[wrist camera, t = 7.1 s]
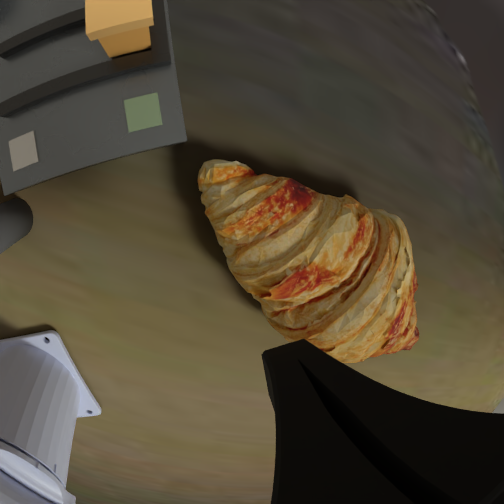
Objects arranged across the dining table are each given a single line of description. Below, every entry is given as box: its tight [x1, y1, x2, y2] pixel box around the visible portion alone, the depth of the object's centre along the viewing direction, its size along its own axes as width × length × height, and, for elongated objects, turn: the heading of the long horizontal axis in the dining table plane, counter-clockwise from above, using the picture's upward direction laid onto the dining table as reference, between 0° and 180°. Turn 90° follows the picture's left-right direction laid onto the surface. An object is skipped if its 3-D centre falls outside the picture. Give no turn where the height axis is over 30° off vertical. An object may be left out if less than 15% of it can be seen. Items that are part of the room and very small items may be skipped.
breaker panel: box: [0, 0, 187, 196], centre depth 11 cm, size 10×12×3 cm
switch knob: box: [85, 0, 154, 58], centre depth 9 cm, size 2×3×4 cm
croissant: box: [198, 159, 419, 363], centre depth 18 cm, size 21×10×8 cm, turn 51°
